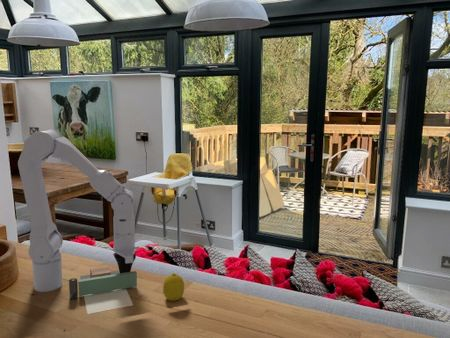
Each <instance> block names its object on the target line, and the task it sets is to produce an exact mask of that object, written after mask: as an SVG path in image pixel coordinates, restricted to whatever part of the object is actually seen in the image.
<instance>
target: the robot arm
mask: <svg viewBox="0 0 450 338" xmlns="http://www.w3.org/2000/svg"><path fill="white" fill-rule="evenodd" d="M49 157H51V158H55V159H62V160H63V159H64V160H66V161H68V163H70V164H71V165H73V166H74V167H75V168H76V169H77V170H79V171H80V173H82V174H83V175H85V176H86V177H87V178H88V179H89V185H90V186H91V187H92V188H93V189H94V190H95V191H96V192H97V193H98V194H100V195H101V196H102V197H103V198H104V199H105V200H106V201H107V202H110V205H111V206H110V207H111V209H112V210H113V216H112V217H113V248H112V249H113V250H112V251H113V256H114V259H115V261H116V263H117V266H118V271H119V273H126V272H132V271H131V270H132V266H133V264H134V262H135V260H136V258H137V257H136V256H137V255H136V254H135V252H136V250H138V249H140V245H139V244H137V243H136V241H135V240H136V236H135V233H136V232H135V230H136V228H135V224H136V223H135V210H134V205H135V203H136V202H135V201H136V197H135V193H134V192H133V191H132V189H131V188H130V187H127V186H126V185H125V184H122V183H121V182H120V181H118V180H117V179H116V178H115V177H114V173H113V172H112V171H109V172H108V170H106V169H98V168H97V166H95V165H94V164H93V163H92V161H90V160H89V159H88V157H86V156H85V155H84V154H83V153H82V152H81V151H80V150H79V149H78V148H77V147H76V146H75V145H74V143H72V142H71V141H70V140H69V139H68V137H65V136H62V134H61V133H60V132H59V131H58V130H55V129H46V130H42V131H41V130H40V131H35V132H33V133H31V134H30V135H29V136H28V137H27V138H26V139H24V141H23V148H22V151H21V153H20V155H19V159H18V161H17V166H18V170H19V175H20V180H21V184H22V190H23V195H24V199H25V202H26V209H27V212H28V213H27V214H28V217H29V220H30V225H31V226H30V227H31V230H30V233H29V238H28V240H29V247H28V250H27V251H28V257H29V258H30V260H32V278H33V289H34V291H36V292H38V293H39V292H40V293H42V292H43V293H47V292H52V291H55V290H58V289H59V288H61V286H62V285H63V271H62V270H63V268H62V267H63V266H62V265H63V264H62V253H61V252H60V248H62V246H63V242H64V240H63V239H64V238H63V236H62V234H61V233H60V232H59V231H58V228H57V224H55V222H53V218H52V212H51V208H50V203H49V198H48V194H47V190H46V185H45V184H46V183H45V180H44V179H45V178H44V176H43V169H42V166H43V165H44V163H45V162H46V161H47V160H48V159H49Z"/></svg>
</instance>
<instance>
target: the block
mask: <svg viewBox="0 0 450 338" xmlns="http://www.w3.org/2000/svg"><path fill="white" fill-rule="evenodd" d="M89 271H90V274H89V275H90V278H94V277H101V276H107V275H111V271H112V270H111V268H110V266H109V265H101V266H94V267H90V268H89Z"/></svg>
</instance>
